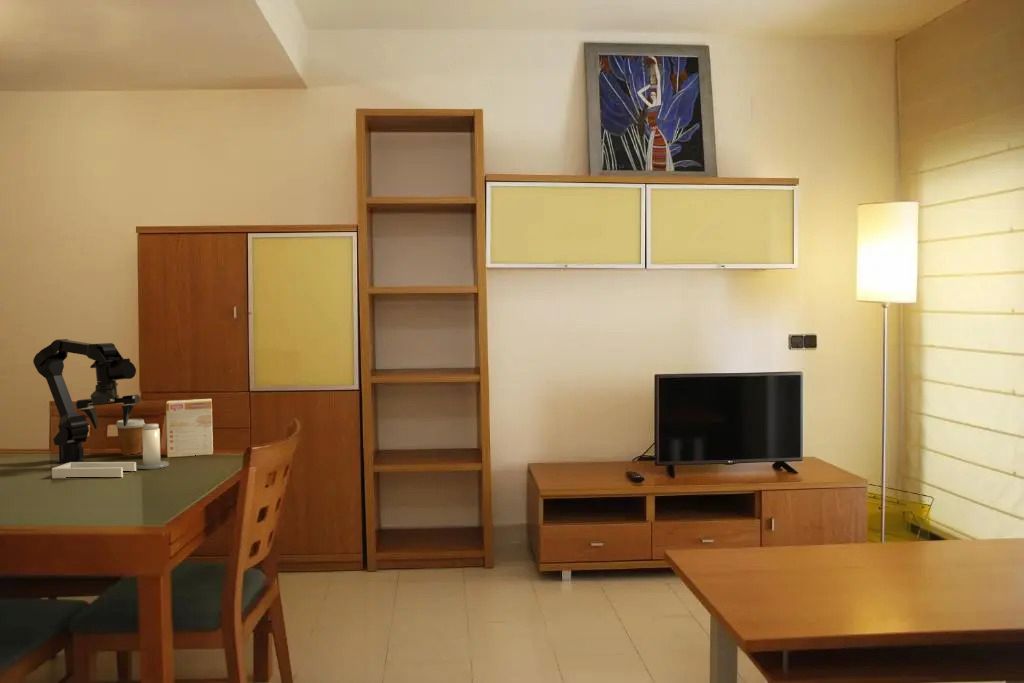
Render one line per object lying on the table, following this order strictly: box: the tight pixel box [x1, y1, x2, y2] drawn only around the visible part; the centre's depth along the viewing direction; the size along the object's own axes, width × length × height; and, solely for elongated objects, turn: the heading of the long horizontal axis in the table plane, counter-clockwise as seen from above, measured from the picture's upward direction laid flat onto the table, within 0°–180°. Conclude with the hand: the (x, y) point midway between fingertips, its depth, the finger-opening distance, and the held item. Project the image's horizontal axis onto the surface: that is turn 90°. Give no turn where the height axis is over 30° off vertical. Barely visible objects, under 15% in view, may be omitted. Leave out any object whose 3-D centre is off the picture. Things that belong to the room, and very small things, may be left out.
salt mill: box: [142, 423, 161, 465], centre depth 262 cm, size 5×5×13 cm
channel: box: [51, 461, 137, 479], centre depth 250 cm, size 21×10×3 cm, turn 91°
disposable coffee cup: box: [115, 418, 146, 456], centre depth 286 cm, size 10×10×12 cm
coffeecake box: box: [165, 398, 214, 458], centre depth 284 cm, size 15×7×20 cm, turn 110°
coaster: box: [136, 460, 169, 470], centre depth 262 cm, size 10×10×1 cm
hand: (110, 427), depth 265 cm, fingers open, 9 cm apart
